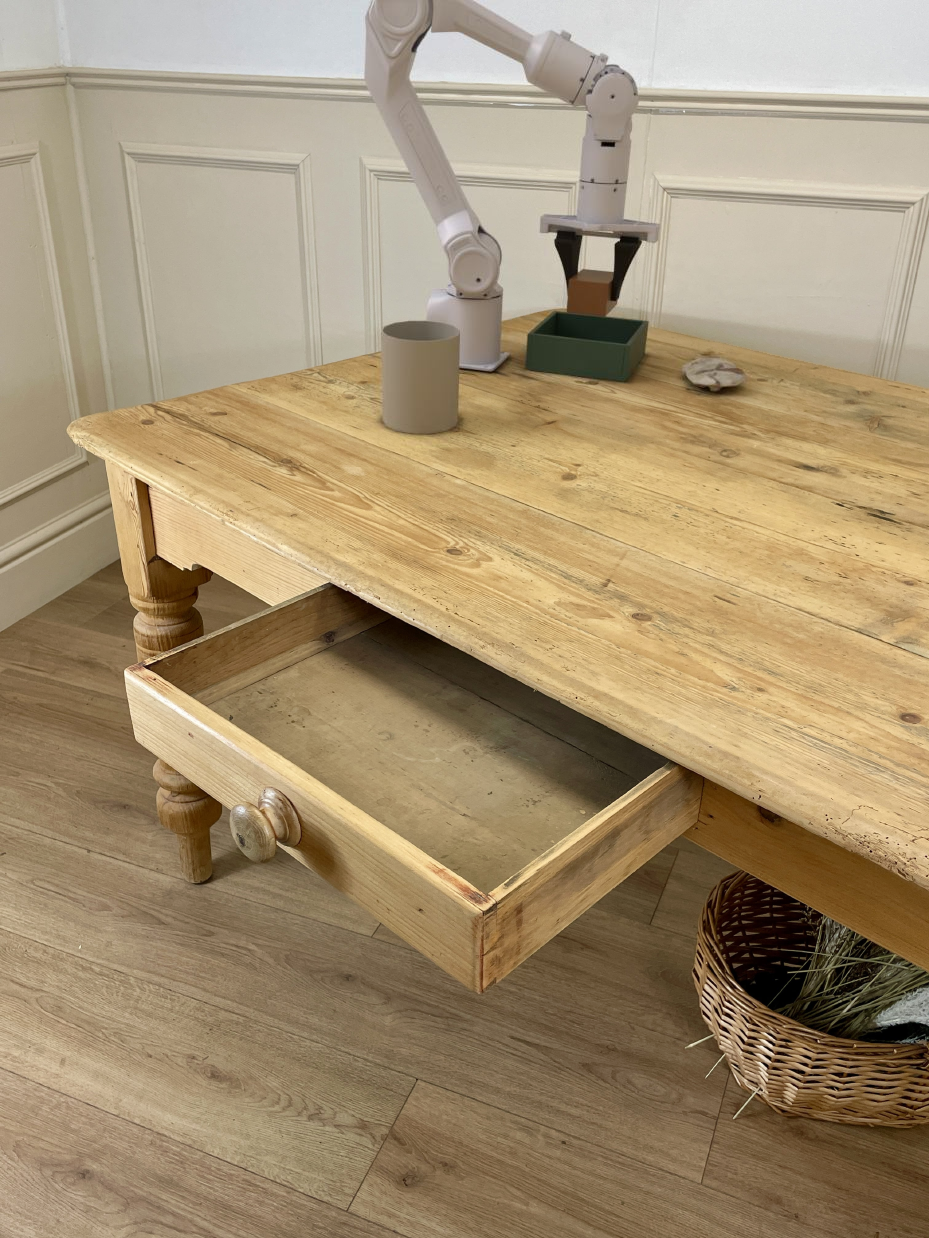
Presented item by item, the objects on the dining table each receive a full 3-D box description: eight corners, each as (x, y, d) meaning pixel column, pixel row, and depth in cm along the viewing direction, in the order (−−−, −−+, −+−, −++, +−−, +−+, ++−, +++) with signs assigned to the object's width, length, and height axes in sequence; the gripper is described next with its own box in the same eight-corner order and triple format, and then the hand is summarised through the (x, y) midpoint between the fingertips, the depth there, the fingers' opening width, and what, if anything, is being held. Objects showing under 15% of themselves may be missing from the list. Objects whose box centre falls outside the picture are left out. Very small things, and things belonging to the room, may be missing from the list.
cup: (430, 439, 106) (430, 346, 101) (368, 423, 110) (365, 332, 105) (471, 417, 112) (474, 328, 107) (411, 403, 116) (411, 316, 111)
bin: (525, 369, 129) (527, 333, 126) (551, 343, 139) (553, 310, 137) (625, 382, 125) (629, 345, 123) (644, 355, 136) (648, 321, 133)
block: (566, 312, 124) (568, 279, 122) (579, 300, 130) (582, 268, 128) (605, 316, 123) (608, 283, 121) (617, 304, 129) (620, 272, 127)
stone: (753, 396, 121) (757, 375, 120) (694, 396, 121) (698, 374, 119) (728, 373, 130) (731, 353, 128) (673, 372, 129) (676, 352, 128)
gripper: (535, 180, 118) (528, 297, 125) (657, 189, 114) (643, 310, 121) (551, 174, 123) (544, 286, 130) (668, 182, 119) (654, 298, 126)
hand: (592, 297), depth 126 cm, fingers closed on block, 5 cm apart
